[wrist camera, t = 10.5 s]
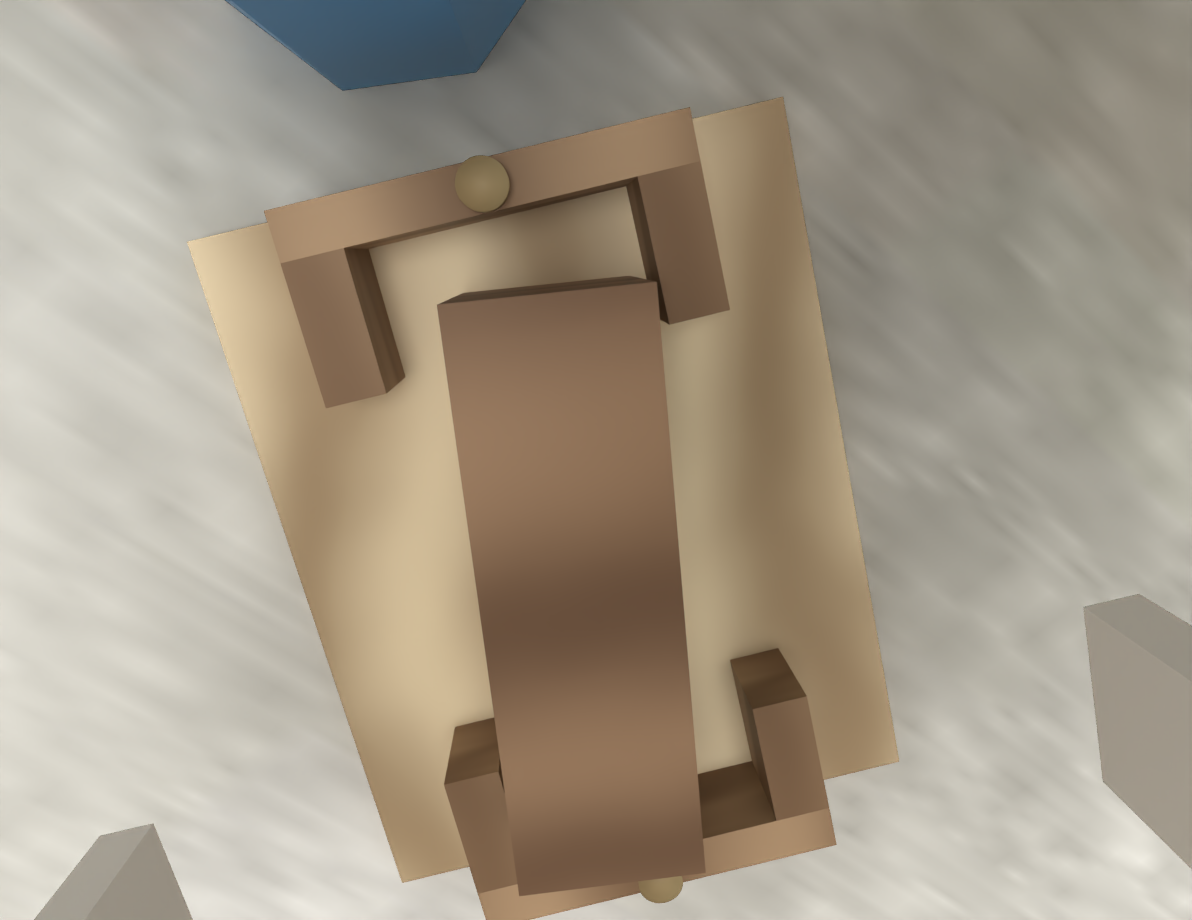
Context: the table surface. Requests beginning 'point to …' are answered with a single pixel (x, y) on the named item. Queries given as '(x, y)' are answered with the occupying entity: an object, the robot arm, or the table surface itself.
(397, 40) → the water bottle
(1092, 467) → the table surface
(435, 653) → the cleat board
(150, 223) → the table surface
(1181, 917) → the table surface
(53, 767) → the table surface
